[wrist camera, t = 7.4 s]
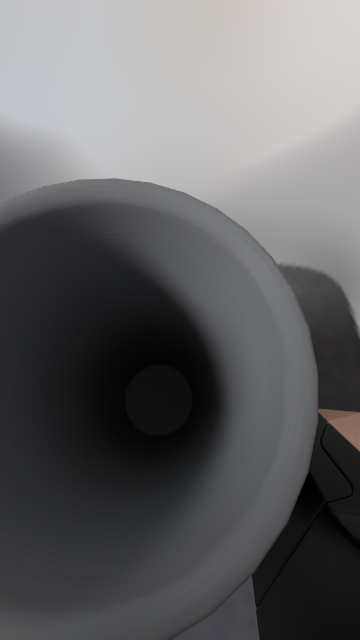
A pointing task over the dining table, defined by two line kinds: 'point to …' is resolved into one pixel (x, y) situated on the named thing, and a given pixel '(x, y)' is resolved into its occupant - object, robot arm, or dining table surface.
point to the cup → (141, 410)
